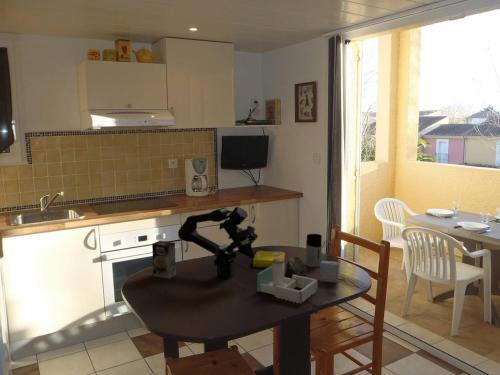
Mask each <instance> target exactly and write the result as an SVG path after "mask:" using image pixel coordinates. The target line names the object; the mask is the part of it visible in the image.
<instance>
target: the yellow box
mask: <svg viewBox="0 0 500 375" xmlns="http://www.w3.org/2000/svg"><path fill="white" fill-rule="evenodd" d="M285 254H286V253H285V252H284V251H271V250H270V251H269V250H267V251H266V250H257V251H256V253H255V254H254V257H255V258H253V261H252V262H253V263H252V264H253V265H252V266H253V267H254V268H263V267H265V269H267V268H269V267H270V266H272V262H273V259H275V258H281V259H284V262H285V259H286V258H285V256H286V255H285Z"/></svg>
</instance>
